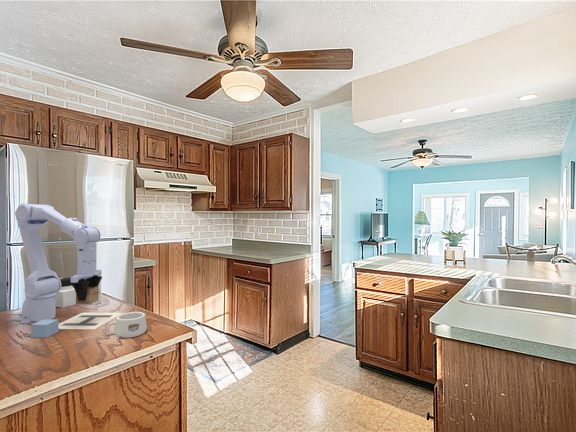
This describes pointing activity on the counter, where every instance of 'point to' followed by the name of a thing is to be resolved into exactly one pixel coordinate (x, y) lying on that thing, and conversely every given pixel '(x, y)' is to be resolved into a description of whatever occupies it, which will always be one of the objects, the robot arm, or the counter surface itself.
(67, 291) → the medicine bottle
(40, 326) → the blue cube
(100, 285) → the syrup box
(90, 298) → the block
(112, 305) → the counter surface
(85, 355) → the counter surface
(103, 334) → the counter surface
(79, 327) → the letter board
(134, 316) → the mug
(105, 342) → the counter surface
